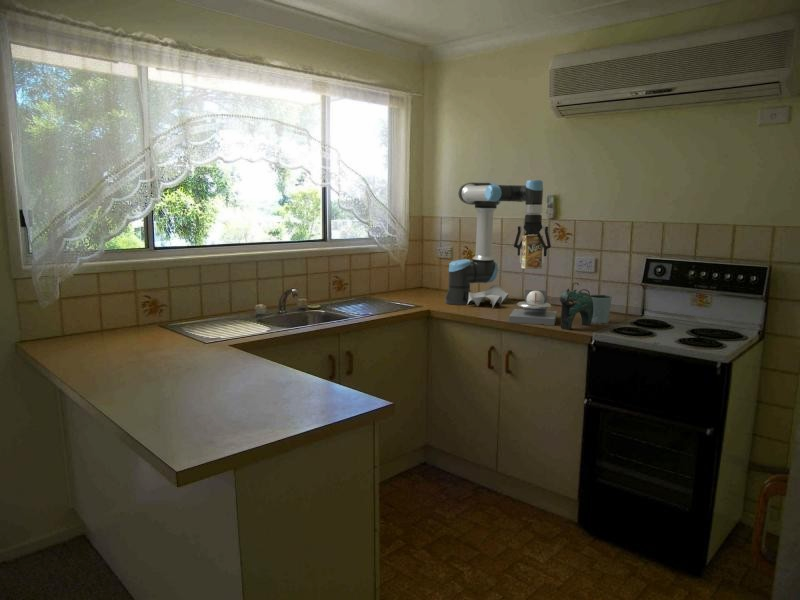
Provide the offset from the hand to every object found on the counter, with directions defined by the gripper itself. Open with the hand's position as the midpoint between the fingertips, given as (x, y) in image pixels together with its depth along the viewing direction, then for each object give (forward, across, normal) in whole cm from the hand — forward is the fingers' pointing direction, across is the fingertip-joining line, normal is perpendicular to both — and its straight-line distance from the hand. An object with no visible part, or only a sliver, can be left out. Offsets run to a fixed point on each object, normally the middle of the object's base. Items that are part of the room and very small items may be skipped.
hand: (531, 263), depth 269 cm
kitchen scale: (+26, +2, -2) cm, 27 cm away
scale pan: (+21, +2, -2) cm, 21 cm away
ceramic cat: (+27, +21, -12) cm, 36 cm away
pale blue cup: (+27, +31, +4) cm, 41 cm away
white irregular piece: (+26, -25, +35) cm, 51 cm away
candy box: (+3, 0, 0) cm, 3 cm away
